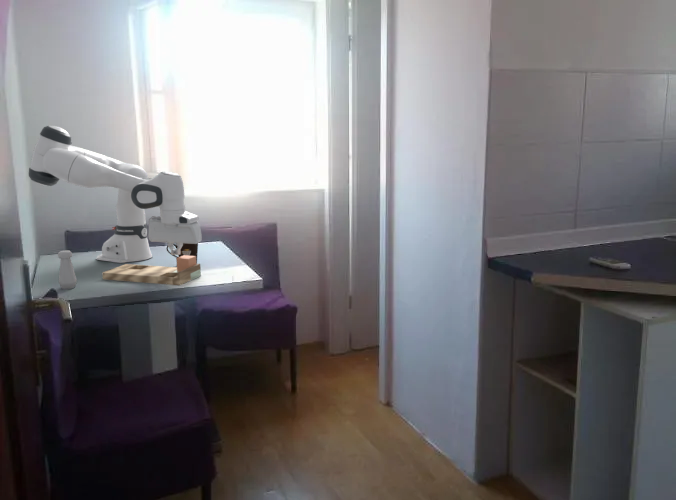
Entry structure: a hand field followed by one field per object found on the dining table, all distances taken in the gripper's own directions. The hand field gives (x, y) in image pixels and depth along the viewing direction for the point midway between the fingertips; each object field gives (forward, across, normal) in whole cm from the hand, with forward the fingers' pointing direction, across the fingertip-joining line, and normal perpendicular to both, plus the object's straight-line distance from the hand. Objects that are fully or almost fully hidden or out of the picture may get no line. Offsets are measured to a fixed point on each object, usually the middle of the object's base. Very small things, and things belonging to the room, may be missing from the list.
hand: (175, 254), depth 231 cm
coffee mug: (+8, -6, +16) cm, 19 cm away
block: (+6, +5, -1) cm, 7 cm away
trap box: (+8, -8, -5) cm, 12 cm away
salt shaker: (+8, -28, -24) cm, 38 cm away
